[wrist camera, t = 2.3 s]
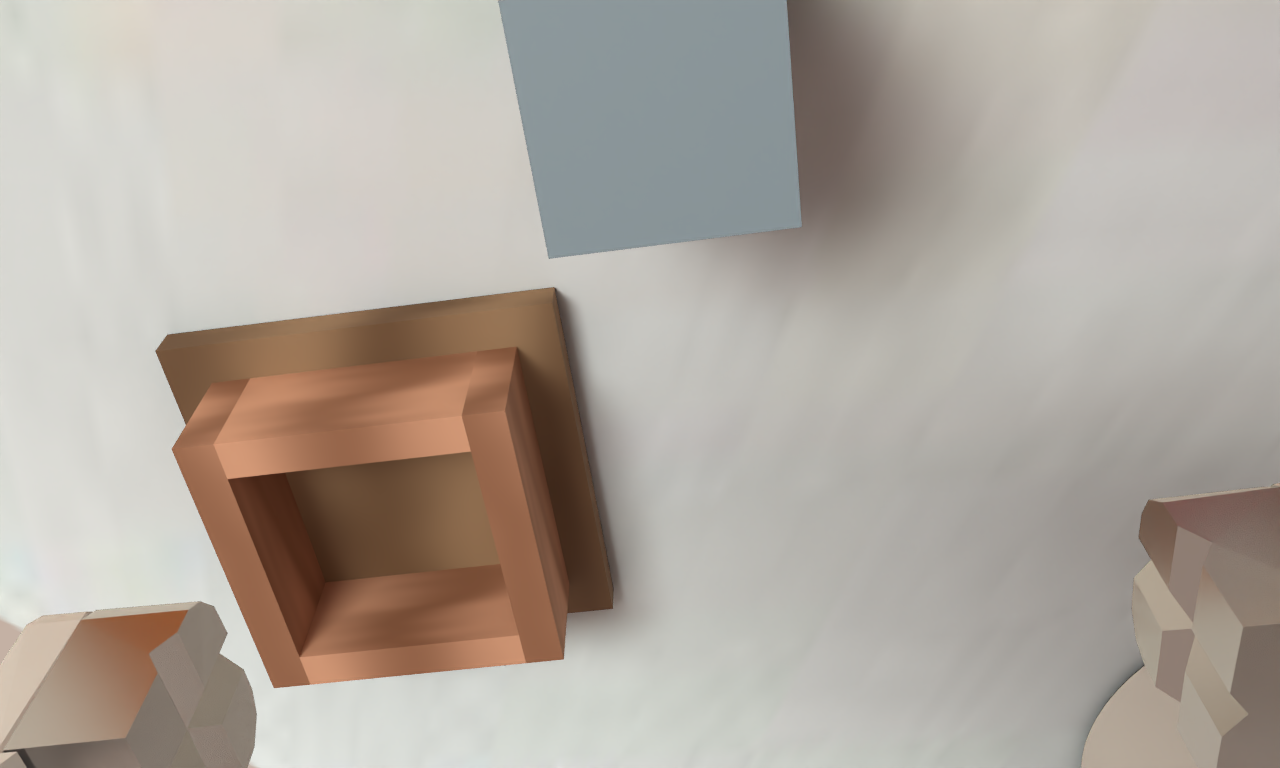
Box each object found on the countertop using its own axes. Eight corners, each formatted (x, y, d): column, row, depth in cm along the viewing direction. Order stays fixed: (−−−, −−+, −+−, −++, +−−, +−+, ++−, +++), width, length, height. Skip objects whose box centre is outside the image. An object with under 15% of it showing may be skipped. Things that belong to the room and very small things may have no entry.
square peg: (740, -124, 28) (784, -39, 20) (756, 76, 31) (801, 226, 22) (540, -95, 28) (498, 1, 20) (573, 100, 31) (548, 258, 23)
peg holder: (554, 287, 34) (543, 364, 30) (613, 589, 40) (610, 684, 36) (167, 334, 35) (109, 415, 31) (284, 622, 41) (247, 719, 37)
